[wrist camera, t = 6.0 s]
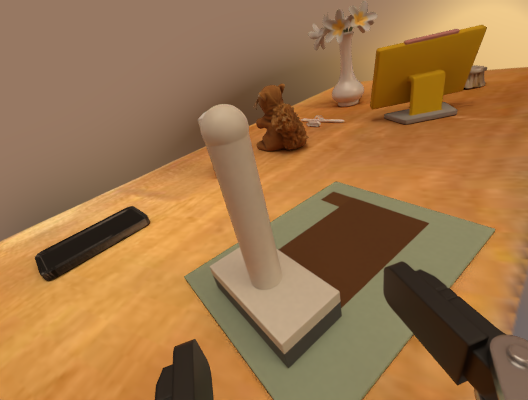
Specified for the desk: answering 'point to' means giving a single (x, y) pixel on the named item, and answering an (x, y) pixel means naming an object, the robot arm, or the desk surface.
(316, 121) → the pen with cap
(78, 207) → the desk surface
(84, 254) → the phone
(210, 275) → the desk mat
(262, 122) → the stuffed squirrel
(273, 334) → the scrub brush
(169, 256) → the desk surface
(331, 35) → the flower vase
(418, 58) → the yellow framed monitor
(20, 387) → the desk surface
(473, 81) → the shoe brush
